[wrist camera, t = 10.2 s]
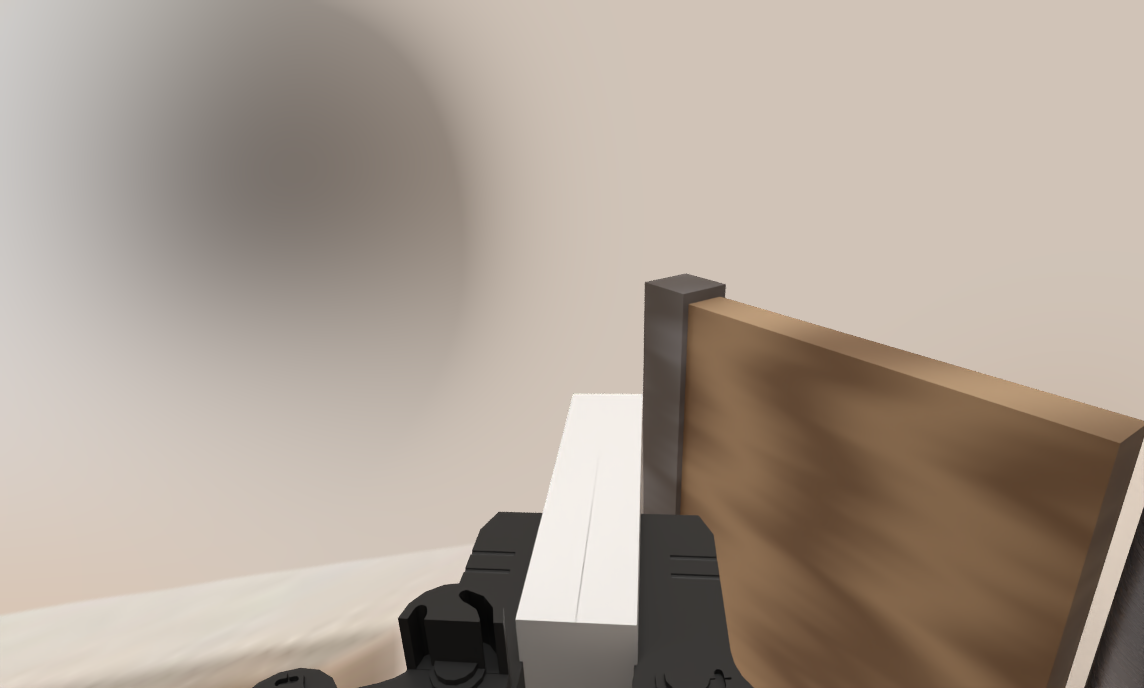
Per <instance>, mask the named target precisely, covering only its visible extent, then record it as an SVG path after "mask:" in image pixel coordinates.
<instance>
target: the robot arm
mask: <svg viewBox="0 0 1144 688" xmlns="http://www.w3.org/2000/svg"><path fill="white" fill-rule="evenodd" d="M398 621H399V627H400V632H401V638H402V643H403V649H404V654H405V660H406V666H407V671H406V672H405V673H403V674H401V675H399V676H397V677H395V678H393V679H390V680H386V681H383V682H380V683H377V684H372V685H368V686H363V687H359V688H754V687H753V686H752V685H751V684H750V683H749V682H748V681H747V680H746V679H745V678H744V677H743V676H742V675H741V673H740V671H739V670H738V668H737V667H736V665H735V663H734V660H733V657H732V654H731V650H730V643H729V636H728V629H727V622H726V616H725V609H724V602H723V595H722V588H721V581H720V575H719V568H718V561H717V554H716V547H715V540H714V534H713V533H712V532H711V531H710V529H709V528H708V527H707V525H706V524H705V523H704V522H703V520H702V519H701V518H700V516H699V515H668V514H643V400H642V394H573V397H572V401H571V405H570V408H569V413H568V417H567V420H566V424H565V428H564V432H563V436H562V440H561V444H560V447H559V452H558V455H557V459H556V463H555V467H554V471H553V475H552V479H551V483H550V486H549V490H548V494H547V498H546V502H545V506H544V510H543V513H520V512H498V513H497V514H496V515H495V516H494V517H493V518H492V519H491V520H490V521H489V522H488V523H487V524H486V525H485V526H484V527H483V528H482V529H480V532H479V534H478V537H477V540H476V542H475V545H474V547H473V550H472V555H470V557H469V560H468V563H467V565H466V570H465V572H464V573H463V575H462V578H461V581H460V583H458V584H448V585H443V586H440V587H437V588H435V589H432V590H429V591H426V592H424V593H423V594H422V595H420V596H419V597H417V598H416V599H415V600H413V601H412V602H410V603H409V604H408V605H407V607H406V608H405V609H404V611H403V612H402V614H401V615H400V616H399V618H398ZM253 688H337V686H336V684H335V682H334V680H333V678H332V677H330V676H329V675H327V674H325V673H324V672H322V671H320V670H316V669H306V668H298V669H294V670H289V671H284V672H280V673H278V674H276V675H273V676H271V677H269V678H267V679H265V680H263V681H261V682H259V683H258V684H256V685H255V686H254V687H253Z"/></svg>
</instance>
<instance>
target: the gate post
mask: <svg viewBox="0 0 1144 688" xmlns="http://www.w3.org/2000/svg"><path fill="white" fill-rule="evenodd" d="M1084 688H1144V508H1143V511H1142V514H1141V517H1140V520H1139V523H1138V526H1137V529H1136V532H1135V535H1134V538H1133V541H1132V544H1131V547H1130V550H1129V553H1128V556H1127V559H1126V562H1125V565H1124V569H1123V572H1122V575H1121V578H1120V581H1119V584H1118V587H1117V590H1116V593H1115V596H1114V599H1113V602H1112V605H1111V608H1110V611H1109V614H1108V617H1107V620H1106V623H1105V626H1104V629H1103V632H1102V636H1101V639H1100V642H1099V645H1098V648H1097V651H1096V654H1095V657H1094V660H1093V663H1092V666H1091V669H1090V672H1089V675H1088V678H1087V681H1086V684H1085V687H1084Z"/></svg>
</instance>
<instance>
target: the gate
mask: <svg viewBox="0 0 1144 688" xmlns="http://www.w3.org/2000/svg"><path fill="white" fill-rule="evenodd" d="M725 287H726V285H725V284H722V283H718V282H715V281H711V280H708V279H704V278H700V277H697V276H693V275H689V274H682V275H678V276H673V277H668V278H663V279H658V280H653V281H649V282H645V311H644V374H643V375H644V376H643V381H644V382H643V514H668V515H699V516H700V518H701V519H702V520H703V522H704V523H705V524H706V525H707V527H708V528H709V529H710V531H711V532H712V533H713V534H714V540H715V547H716V554H717V561H718V568H719V575H720V581H721V588H722V595H723V602H724V609H725V616H726V622H727V629H728V636H729V643H730V650H731V654H732V657H733V660H734V663H735V665H736V667H737V668H738V670H739V671H740V673H741V675H742V676H743V677H744V678H745V679H746V680H747V681H748V682H749V683H750V684H751V685H752V686H753V687H754V688H1065V686H1066V683H1067V680H1068V677H1069V674H1070V671H1071V667H1072V664H1073V661H1074V658H1075V655H1076V652H1077V648H1078V645H1079V642H1080V639H1081V636H1082V633H1083V629H1084V626H1085V623H1086V620H1087V617H1088V613H1089V610H1090V607H1091V604H1092V601H1093V598H1094V594H1095V591H1096V588H1097V585H1098V582H1099V579H1100V575H1101V572H1102V569H1103V566H1104V563H1105V559H1106V556H1107V553H1108V550H1109V547H1110V544H1111V540H1112V537H1113V534H1114V531H1115V528H1116V525H1117V521H1118V518H1119V515H1120V512H1121V509H1122V505H1123V502H1124V499H1125V496H1126V493H1127V490H1128V486H1129V483H1130V480H1131V477H1132V474H1133V471H1134V467H1135V464H1136V461H1137V458H1138V455H1139V451H1140V448H1141V445H1142V442H1143V439H1144V421H1142V420H1139V419H1136V418H1132V417H1129V416H1125V415H1122V414H1119V413H1115V412H1112V411H1108V410H1105V409H1102V408H1098V407H1095V406H1091V405H1088V404H1085V403H1081V402H1078V401H1074V400H1071V399H1068V398H1064V397H1061V396H1057V395H1054V394H1050V393H1047V392H1044V391H1040V390H1037V389H1033V388H1030V387H1027V386H1023V385H1019V384H1016V383H1013V382H1010V381H1006V380H1003V379H999V378H996V377H993V376H989V375H986V374H982V373H979V372H976V371H972V370H969V369H965V368H962V367H958V366H955V365H952V364H948V363H945V362H941V361H938V360H935V359H931V358H928V357H924V356H921V355H918V354H914V353H911V352H907V351H904V350H900V349H897V348H894V347H890V346H887V345H883V344H880V343H876V342H873V341H869V340H866V339H863V338H860V337H856V336H853V335H849V334H845V333H842V332H839V331H836V330H832V329H829V328H825V327H822V326H819V325H815V324H812V323H808V322H805V321H802V320H798V319H794V318H791V317H788V316H784V315H781V314H778V313H774V312H771V311H767V310H764V309H761V308H757V307H754V306H750V305H746V304H744V303H740V302H737V301H733V300H730V299H726V298H725Z"/></svg>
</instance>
